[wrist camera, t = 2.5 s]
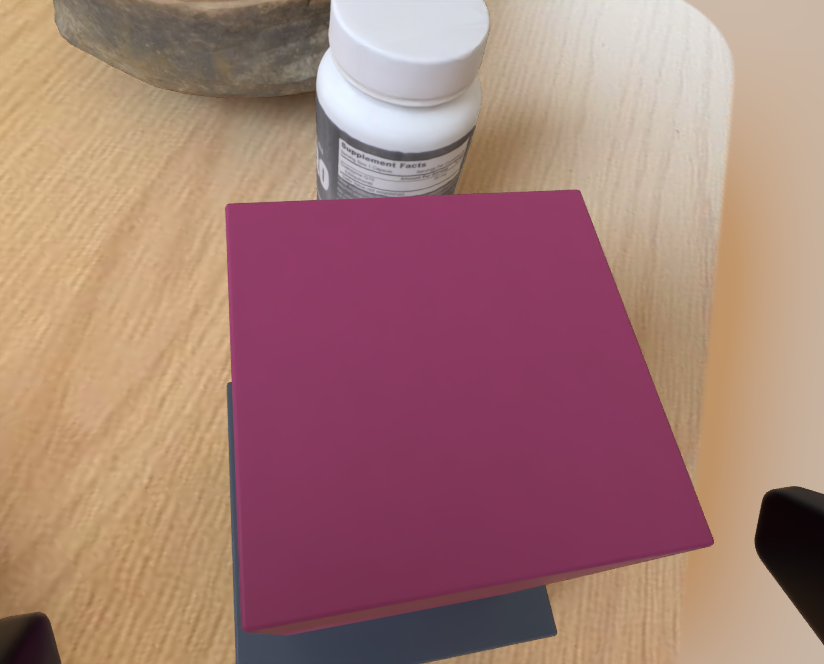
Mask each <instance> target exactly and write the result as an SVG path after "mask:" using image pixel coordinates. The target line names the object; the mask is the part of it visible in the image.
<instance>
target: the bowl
mask: <svg viewBox="0 0 824 664" xmlns="http://www.w3.org/2000/svg"><path fill="white" fill-rule="evenodd" d="M53 3H54V8H55V22H56V25H57V27H58V29H59V31H60V34H61V36H62V37H63V38H64V39H66V40H67V41H68V42H69V43H70V44H71V45H73V46H75V47H77V48H79V49H81V50H83V51H85V52H87V53H89V54H91V55H93V56H95V57H97V58H99V59H101V60H102V61H104V62H106V63H108V64H109V65H111V66H113V67H115V68H118V69H120V70H122V71H124V72H126V73H127V74H129V75H131V76H133V77H135V78H137V79H140V80H142V81H144V82H147V83H149V84H151V85H153V86H156V87H159V88H164V89H168V90H172V91H177V92H181V93H185V94H193V95H202V96H210V97H243V98H254V97H277V96H284V95H292V94H299V93H307V92H313V91H316V79H317V72H318V68H319V65H320V62H321V60H322V58H323V56H324V54H325V52H326V51H327V50H328V48H329V47H330V44H329V36H328V33H329V25H330V10H331V0H53Z"/></svg>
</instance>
